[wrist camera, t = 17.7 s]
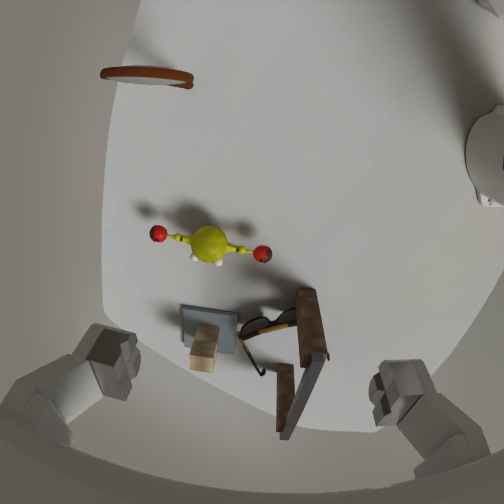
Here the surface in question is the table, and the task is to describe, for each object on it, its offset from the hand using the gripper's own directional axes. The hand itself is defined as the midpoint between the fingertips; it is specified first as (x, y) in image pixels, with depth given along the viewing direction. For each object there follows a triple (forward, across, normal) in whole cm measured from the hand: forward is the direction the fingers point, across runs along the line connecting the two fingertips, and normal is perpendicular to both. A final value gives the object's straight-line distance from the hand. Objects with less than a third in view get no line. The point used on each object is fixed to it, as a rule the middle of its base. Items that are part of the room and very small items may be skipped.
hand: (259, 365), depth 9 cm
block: (+34, +7, +32) cm, 47 cm away
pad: (+35, +7, +32) cm, 48 cm away
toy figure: (+35, +7, +12) cm, 38 cm away
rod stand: (+35, -9, +31) cm, 48 cm away
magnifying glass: (+35, +12, -10) cm, 39 cm away
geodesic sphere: (+35, -33, -41) cm, 63 cm away
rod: (+20, -9, +31) cm, 38 cm away
